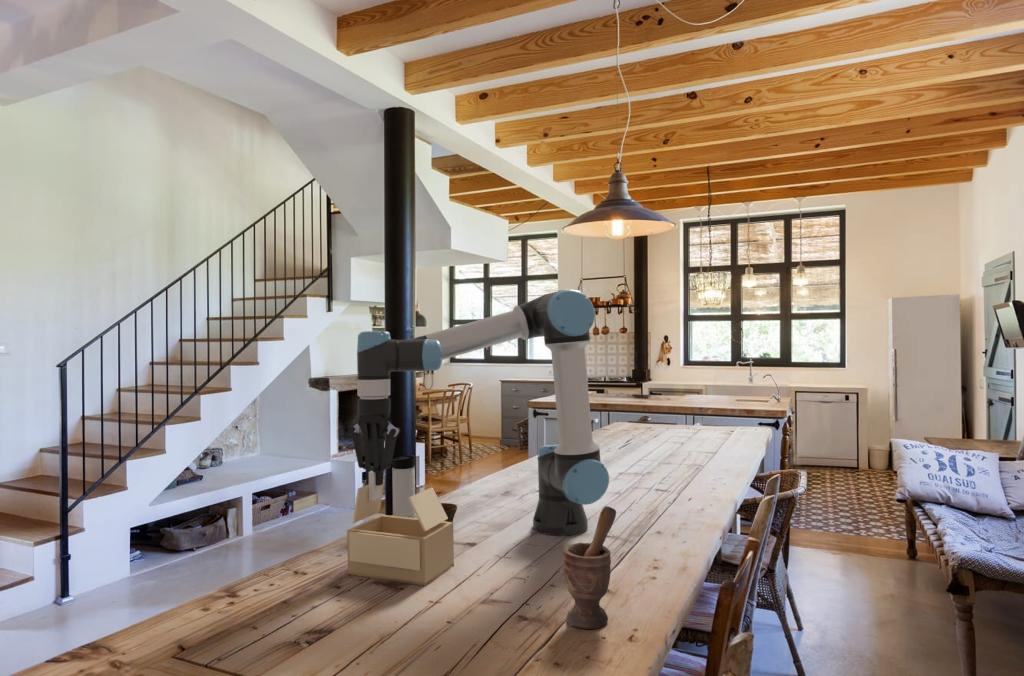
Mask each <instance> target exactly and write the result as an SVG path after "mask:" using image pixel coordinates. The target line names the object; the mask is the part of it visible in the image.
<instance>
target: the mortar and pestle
mask: <svg viewBox="0 0 1024 676" xmlns="http://www.w3.org/2000/svg"><path fill="white" fill-rule="evenodd" d="M616 517H617V511H616V509H615V508H613V507H611V506H607V505H605V506H604V507H602V510H601V511H600V514H599V517H598V521H597V525H596V529H595V531H594V532H595V533H594V536H593V538H592V541H591V542H578V543H571V544H568V545H566V546H564V548H563V549H562V550H563V563H564V564H563V574H564V580H565V584H566V585H567V591H568V593H569V595H571V597H572V599H573V600H574V604H573V606H572V607H571V608H569V609H568V611H567V616H566V621H567V622H568V624H569V625H568V626H570V627H575V628H580V629H585V630H587V629H589V630H594V629H601V628H603V627H604V626H605V625H606V624H607V623H608V621H609V616H608V614H607V612H606V610H605V609H604V608H603V607H602V606H601V605H600V602H601V600H602V598H603V597H605V595H607V592H608V588H609V585H610V581H611V574H612V573H611V572H612V571H611V562H612V559H611V550H610V549H609V548H608V547H606V546H605V545H604V543H605V541H606V539H607V537H608V534H609V533H610V531H611V528H612V527H613V524H614V523H615V520H616Z"/></svg>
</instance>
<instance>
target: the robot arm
mask: <svg viewBox="0 0 1024 676" xmlns="http://www.w3.org/2000/svg"><path fill="white" fill-rule="evenodd" d="M594 307H595V306H594V305H593V303H592V300H590V298H589V297H588V296H587V295H586V294H584V293H583V292H581V291H580V290H576V289H560V290H557V291H554V292H549V293H545V294H544V295H541V296H538V297H537V298H535V299H532V300H530V301H528V302H524V303H522V304H517V305H515V306H514V307H513V309H512V310H510V311H507V312H502V313H500V314H496V315H491V316H488V317H484V318H481V319H478V320H474V321H471V322H467V323H464V324H460V325H457V326H453V327H449V328H445V329H441V330H438V331H435V332H431V333H428V334H425V335H424V334H423V335H421V336H417V337H413V338H410V339H392V338H391V333H390V332H389V331H382V330H381V331H378V330H377V331H371V330H370V331H361V332H359V334H358V335H357V344H356V346H357V347H356V348H357V350H356V356H357V357H356V362H357V366H356V367H357V381H356V382H357V385H356V386H357V394H356V395H357V396H358V397H359V398H358V400H357V414H358V418H357V423H356V424H354V425H353V426H349V428H348V431H349V433H350V435H351V437H352V441H353V446H354V450H355V457H356V461H357V466H358V468H360V469H363V470H365V480H366V481H365V483H366V485H369V500H373V501H374V500H377V499H379V498H381V485H382V484H383V479H384V471H385V470H387V469H390V468H391V467H392V462H393V459H394V452H395V448H396V445H397V444H396V442H397V438H398V437H399V434H400V433H401V428H400V427H395V426H394V425H393V424H392V420H391V417H390V414H391V409H392V408H391V406H392V404H391V403H392V402H391V401H392V400H391V398H390V396H391V372H429V371H432V372H433V371H438V370H439V369H441V366H442V361H443V360H447V359H451V358H454V357H457V356H461V355H465V354H468V353H471V352H472V353H473V352H474V351H475V352H476V351H479V350H482V349H485V348H489V347H492V346H495V345H499V344H503V343H506V342H509V341H513V340H517V339H522V340H523V341H527V340H530V339H533V338H539V337H540V338H541V337H543V341H544V346H545V347H546V348H548V349H549V350H550V352H551V361H552V362H551V363H552V365H551V366H552V373H553V374H552V375H553V376H552V377H553V384H554V396H555V409H556V410H555V411H556V419H557V429H558V442H559V443H557V444H546V445H545V444H544V445H541V446H540V447H539V448H538V450H537V451H538V452H537V453H538V454H537V469H538V471H537V472H538V473H537V475H538V502H537V505H536V508H535V511H534V516H533V519H532V529H534V530H535V531H536V532H538V533H540V534H545V535H550V536H551V535H552V536H572V535H577V534H581V533H584V532H585V531H587V530H588V526H589V524H588V518H587V514H586V511H585V508H584V505H591V504H594V503H596V502H597V501H599V500H600V499H601V498H603V496H604V495H605V494H606V493H607V490H608V487H609V485H610V476H609V472H608V469H607V468H606V466H605V465H604V464H603V463H602V462H601V453H600V452H601V451H600V449H601V448H600V446H599V445H598V444H596V443H595V442H594V440H593V430H592V429H593V428H592V417H591V408H590V407H591V405H590V395H589V394H590V393H589V383H588V372H587V360H586V359H587V358H586V347H587V345H588V344H589V343H590V342H591V337H590V336H591V335H590V334H591V333H590V330H591V327H593V325H594V322H595V315H596V314H595V308H594ZM386 434H387V436H386Z"/></svg>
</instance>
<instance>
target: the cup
mask: <svg viewBox="0 0 1024 676" xmlns="http://www.w3.org/2000/svg"><path fill="white" fill-rule="evenodd" d="M440 503H441V505H442V507H443V509H444V511H445V513H446V515H447V517H448V519H446V520H445V522H453V523H454V518H455V515H456V513H457V510H458V505H456V504H454V503H449V502H447V503H446V502H440Z"/></svg>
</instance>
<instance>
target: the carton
mask: <svg viewBox="0 0 1024 676" xmlns="http://www.w3.org/2000/svg"><path fill="white" fill-rule="evenodd" d="M346 534H347V535H346V537H347V538H346V540H347V541H346V542H347V547H346V548H347V575H349V574H351V575H350V576H355V575H357V576H356V577H362V576H363V577H362V578H368V577H369V578H370V579H375V580H376V579H377V580H383V581H388V582H389V581H390V582H395V583H397V582H398V583H402V584H409V585H415V586H423V587H426V586H428V585H429V584H431V583H432V582H434V581H435V580H436V579H438V578H439V577H440V576H442V575H443V574H444V573H446V572H447V571H449V570H450V569H451V568H453V567H454V566H455V553H454V549H455V548H454V546H455V545H454V521H453V522H445V521H443V522H441V523H439V524H437V525H436V526H434V527H432V528H430V529H429V530H427V531H425V532H424V530H423V528H422V526H421V524H420V522H419V520H418V518H417V517H415V518H407V517H398V516H393V515H388V514H387V515H386V514H379V515H377V516H375V517H372V518H370V519H368V520H366V521H364V522H362V523H359V524H356V525H355V526H352V527H351V528H348V529H347V530H346Z"/></svg>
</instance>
